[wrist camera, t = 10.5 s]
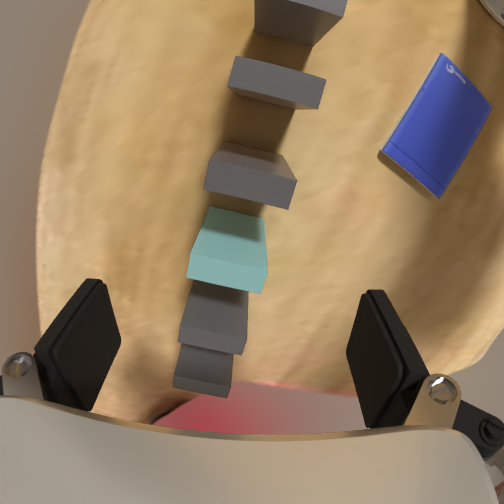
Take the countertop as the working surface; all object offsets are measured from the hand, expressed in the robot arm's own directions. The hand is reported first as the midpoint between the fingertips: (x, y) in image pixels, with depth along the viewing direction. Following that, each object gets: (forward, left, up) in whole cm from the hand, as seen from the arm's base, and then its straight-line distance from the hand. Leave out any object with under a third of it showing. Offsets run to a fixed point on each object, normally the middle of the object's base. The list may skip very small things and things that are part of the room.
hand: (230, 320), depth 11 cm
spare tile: (+2, +3, -18) cm, 18 cm away
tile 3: (-1, -2, -18) cm, 18 cm away
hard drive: (-20, -3, -19) cm, 27 cm away
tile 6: (+7, +14, -18) cm, 24 cm away
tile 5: (+4, +8, -18) cm, 20 cm away
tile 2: (-4, -8, -18) cm, 20 cm away
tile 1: (-7, -13, -18) cm, 23 cm away
